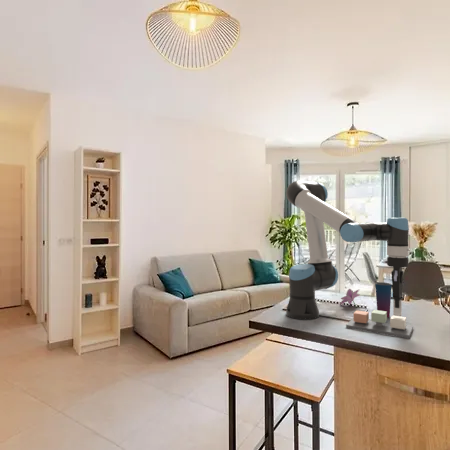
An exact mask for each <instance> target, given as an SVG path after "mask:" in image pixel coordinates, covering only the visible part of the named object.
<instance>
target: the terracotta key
mask: <svg viewBox="0 0 450 450" xmlns="http://www.w3.org/2000/svg"><path fill="white" fill-rule="evenodd" d="M352 315H353V317H352V318H354V322H360V323H367V322H368V321H369V319H370V313H369V311H364V310H363V311H362V310H357V309H356V310H355V311H354V312H353V314H352Z"/></svg>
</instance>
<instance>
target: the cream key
mask: <svg viewBox="0 0 450 450" xmlns="http://www.w3.org/2000/svg"><path fill="white" fill-rule="evenodd" d="M389 319H390V321H389V322H390V327H392V328H398V329H404V330H405V328H406V325H407V317H406V316H395V315H391V316H390V317H389Z"/></svg>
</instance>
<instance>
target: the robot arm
mask: <svg viewBox="0 0 450 450" xmlns="http://www.w3.org/2000/svg"><path fill="white" fill-rule="evenodd" d="M285 194H286V199H287V200H288V202H289V203H290V204H292V205H293V206H294V207H296V208H297V209H301V211H302V212H303V213H304V219H305V227H306V236H307V243H308V252H309V260H308V262H307V263H302V264H301V263H300V264H296V265H293V266H291V267H290V268H289V275H288V277H289V278H288V282H289V300H288V302H287V306H286V310H285V315H286V316H287V317H289V318H291V319H296V320H303V321H304V320H315V319H317V318H319V316H320V311H319V307H318V304H317V301H316V291H321V290H327V289H330V288H332V287H334V286H335V285H336V284H337V282H338V279H339V271H338V269H337V268H336V266H335V265H333V262H332V259H330V258H329V256H328V248H327V240H326V234H325V233H326V231H325V225H327V226H329V227H330V228H332V229H333V230H334V231H336V232H337V233H339V235H340V237H341V239H342V240H343V241H345V242H346V243H347V242H348V243H359V242H370V241H383V242H386V255H387V258H386V265H387V266H388V267H390V268H391V267H392V269H393V270H392V271H391V281H392V282H391V284H392V286H391V291H392V296H391V300H393V303H392V304H393V307H392V308H393V316H400V317H403V316H402V314H403V313H402V310H403V309H402V305H403V304H402V303H403V302H402V300H404V296H403V284H404V283H403V281H404V276H405V272H404V270H403V268H408V267H409V257H408V256H409V252H410V251H411V248H409V234H410V233H409V230H410V228H409V219H408V218H406V217H388V218H387V220H386V222H373V221H371V222H370V221H366V222H358V221H357V220H355V219H353V218H351V217H350V216H348V215H347V214H344V213H343V212H342V211H340V210H338V209H337V208H335V207H333V206H332V205H330V204H329V203H327V202H326V201H327V199H328V195H329V193H328V189H327V187H326V186H325V185H324V184H323V183H322V182H318V181H315V180H313V181H311V180H309V181H308V180H295V181H292V182H291V183H290V184H288V187H287V189H286V191H285ZM324 224H325V225H324Z"/></svg>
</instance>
